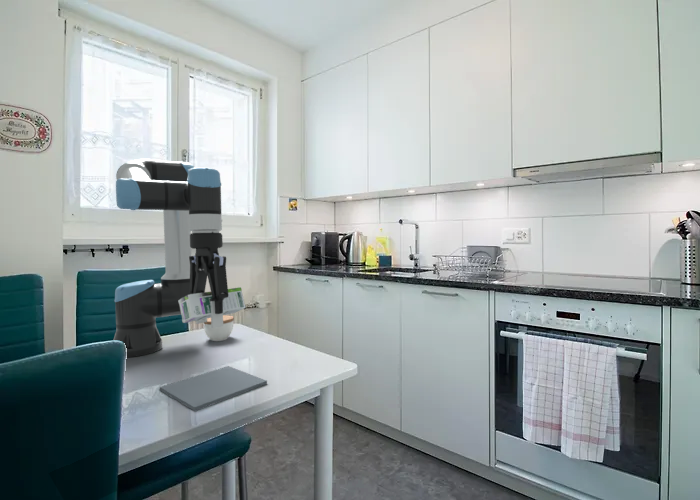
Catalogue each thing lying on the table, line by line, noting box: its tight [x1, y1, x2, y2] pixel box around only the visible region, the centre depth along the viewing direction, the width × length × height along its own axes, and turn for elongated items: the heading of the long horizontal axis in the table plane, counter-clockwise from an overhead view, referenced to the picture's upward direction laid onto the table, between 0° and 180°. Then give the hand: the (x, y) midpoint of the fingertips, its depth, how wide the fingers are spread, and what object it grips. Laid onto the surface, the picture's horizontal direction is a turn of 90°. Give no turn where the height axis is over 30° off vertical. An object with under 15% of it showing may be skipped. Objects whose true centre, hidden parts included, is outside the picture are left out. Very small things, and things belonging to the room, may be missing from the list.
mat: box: [159, 365, 268, 412], centre depth 94 cm, size 18×19×1 cm
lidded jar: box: [203, 314, 234, 342], centre depth 140 cm, size 11×11×9 cm
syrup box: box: [178, 286, 247, 324], centre depth 94 cm, size 6×6×14 cm
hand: (209, 324), depth 93 cm, fingers closed on syrup box, 7 cm apart
